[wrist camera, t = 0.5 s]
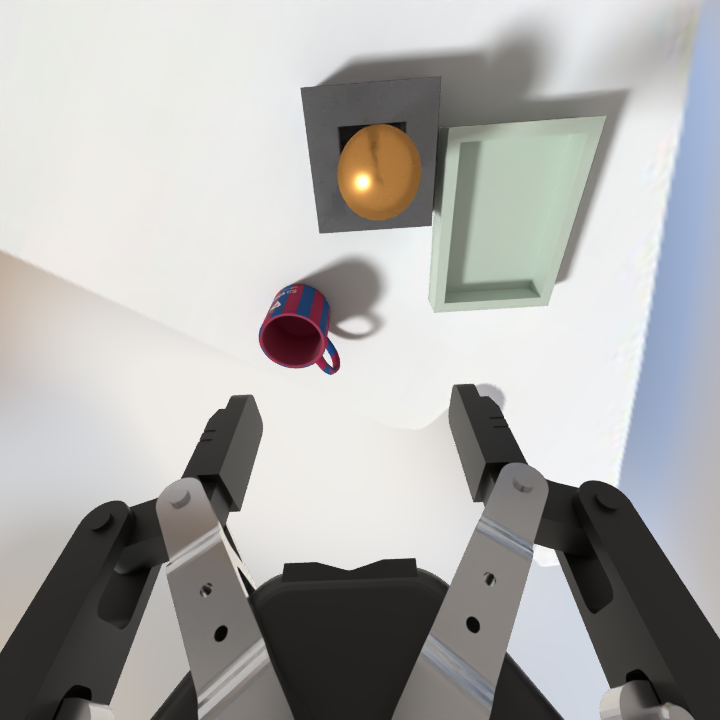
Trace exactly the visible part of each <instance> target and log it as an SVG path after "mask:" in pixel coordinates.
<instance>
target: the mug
mask: <svg viewBox="0 0 720 720" xmlns="http://www.w3.org/2000/svg"><path fill="white" fill-rule="evenodd" d="M329 319H330V307H329V304H328V302H327V300H326V298H325V297H324V296H323V295H322V294H321V293H320V292H319V291H317V290H316V289H314V288H312V287H310V286H306V285H291V286H288V287H286V288H284V289H282V290H281V291H280V292H279V293H278V294H277V295H276V297H275V299H274V301H273V303H272V305H271V307H270V309H269V311H268V313H267V315H266V318H265V320H264V322H263V324H262V326H261V328H260V331H259V343H260V346H261V348H262V350H263V352H264V353H265V354H266V356H267V357H268V358H269V359H271V360H272V361H273V362H275V363H277V364H279V365H281V366H284V367H288V368H304V367H308V366H310V365H313V364H314V363H316V364H317V365H318V366H319V367H320V368H321V369H322V370H323V371H324V372H325V373H327V374H329V375H332V374H334V373H336V372H337V371H338V370H339V368H340V358H339V355H338V352H337V350H336V349H335V347H334V345H333V344H332V342H331V341H330V340H329V338H328V337H327V334H328V327H329ZM325 348H326V349H327V351H328V352H329V354H330V356H331V358H332V362H333V368H332V367H331V366H330V365H329V364H328V363H327V362H326V361H325V359H324V358H323V354H324V352H325Z"/></svg>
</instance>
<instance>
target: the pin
mask: <svg viewBox="0 0 720 720" xmlns="http://www.w3.org/2000/svg"><path fill="white" fill-rule="evenodd" d="M420 180H421V162H420V157H419V154H418V151H417V148H416V147H415V145H414V143H413V142H412V140H411V139H410V138H409V137H408V136H407V135H406V134H405V133H404V132H403V131H401V130H400V129H398V128H396V127H394V126H391V125H386V124H376V125H371V126H368V127H365V128H363V129H361V130H360V131H358V132H357V133H356V134H355V135H353V136H352V137H351V139H350V140H349V141H348V142H347V144H346V146H345V147H344V149H343V151H342V153H341V156H340V159H339V164H338V184H339V188H340V192H341V194H342V197H343V199H344V200H345V202H346V203H347V205H348V206H349V207H350V208H351V209H352V210H353V211H354V212H355V213H356V214H358V215H359V216H361V217H363V218H366V219H369V220H386V219H390V218H392V217H395V216H396V215H398V214H400V213H401V212H402V211H404V210H405V209H406V208H407V207H408V206H409V204H410V203H411V202H412V200H413V199H414V197H415V195H416V193H417V191H418V188H419V184H420Z"/></svg>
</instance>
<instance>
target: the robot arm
mask: <svg viewBox="0 0 720 720" xmlns="http://www.w3.org/2000/svg"><path fill="white" fill-rule="evenodd" d="M449 424H450V428H451V431H452V434H453V437H454V441H455V444H456V447H457V450H458V454H459V457H460V460H461V463H462V467H463V470H464V473H465V476H466V480H467V483H468V486H469V489H470V493H471V496H472V499H473V502H483V503H484V506H485V509H484V511H483V513H482V516H481V518H480V520H479V521H478V523H477V525H476V528H475V530H474V532H473V534H472V537H471V539H470V541H469V544H468V546H467V548H466V551H465V553H464V555H463V557H462V560H461V562H460V564H459V567H458V569H457V571H456V573H455V576H454V578H453V580H452V582H451V585H450V586H449V585H448V584H447V583H446V582H445V581H443V580H442V579H441V578H439V577H438V576H436V575H434V574H432V573H430V572H428V571H426V570H423V569H420V568H417V567H416V559H415V558H410V559H384V560H380V561H377V562H374V563H371V564H369V565H366V566H363V567H360V568H357V569H354V570H344V569H340V568H336V567H332V566H329V565H325V564H321V563H317V562H310V563H285V564H284V569H283V574H280V575H277V576H275V577H273V578H271V579H270V580H268V581H267V582H265V583H264V584H263V585H261V586H260V587H259V588H257V586H256V584H255V582H254V580H253V578H252V577H251V575H250V573H249V571H248V569H247V567H246V565H245V563H244V561H243V558H242V556H241V554H240V552H239V549H238V547H237V545H236V543H235V540H234V538H233V536H232V534H231V531H230V529H229V527H228V525H227V523H226V521H227V518H228V515H229V512H237V511H240V510H241V507H242V503H243V499H244V496H245V493H246V489H247V486H248V482H249V479H250V475H251V472H252V468H253V465H254V461H255V457H256V454H257V451H258V447H259V444H260V440H261V437H262V432H263V423H262V419H261V416H260V413H259V410H258V408H257V405H256V402H255V399H254V397H253V395H234V396H231V398H230V400H229V402H228V404H227V407H226V409H219V410H218V411H217V412H216V413H215V414H214V415H213V416H212V417H211V418H210V419H209V421H208V423H207V425H206V427H205V430H204V433H203V434H202V436H201V438H200V442H198V444H197V446H196V449H195V451H194V453H193V455H192V457H191V459H190V461H189V463H188V465H187V467H186V469H185V471H184V474H183V476H182V477H181V479H180V480H177V481H175V482H173V483H172V484H170V485H169V486H168V487H167V488H166V489H165V490H164V491H163V492H162V493H161V494H160V496H159V497H158V498H156V499H153V500H150V501H147V502H144V503H141V504H138V505H135V506H132V507H128V506H127V505H126V504H125V503H124V502H122V501H110V502H107V503H104V504H102V505H100V506H98V507H97V508H95V509H94V510H92V511H91V512H90V513H89V514H88V515H87V516H86V517H85V518H84V519H83V520H82V521H81V523H80V524H79V526H78V527H77V529H76V530H75V532H74V534H73V535H72V537H71V539H70V540H69V542H68V544H67V545H66V547H65V548H64V550H63V552H62V554H61V555H60V557H59V558H58V560H57V562H56V563H55V565H54V566H53V568H52V570H51V571H50V573H49V575H48V576H47V578H46V580H45V581H44V583H43V584H42V586H41V588H40V589H39V591H38V592H37V594H36V596H35V597H34V599H33V601H32V602H31V604H30V606H29V607H28V609H27V611H26V612H25V614H24V615H23V617H22V619H21V620H20V622H19V623H18V625H17V627H16V629H15V630H14V632H13V633H12V635H11V636H10V638H9V640H8V641H7V643H6V645H5V646H4V648H3V649H2V651H1V653H0V720H115V715H114V712H113V710H112V709H111V708H110V707H109V704H110V702H111V699H112V696H113V694H114V691H115V688H116V686H117V683H118V680H119V678H120V675H121V672H122V669H123V667H124V664H125V662H126V659H127V656H128V654H129V651H130V648H131V646H132V643H133V640H134V638H135V635H136V632H137V629H138V627H139V624H140V622H141V619H142V616H143V613H144V611H145V608H146V606H147V603H148V600H149V598H150V595H151V592H152V590H153V587H154V584H155V581H156V579H157V576H158V573H159V571H160V568H161V565H162V563H165V562H168V561H170V564H168V565H167V566H166V575H167V579H168V583H169V587H170V591H171V595H172V599H173V603H174V607H175V611H176V615H177V618H178V622H179V626H180V630H181V634H182V638H183V642H184V646H185V650H186V654H187V658H188V662H189V665H190V671H189V672H188V673H187V674H186V676H185V677H184V678H183V679H182V681H181V682H180V683H179V684H178V686H177V687H176V688H175V689H174V691H173V692H172V693H171V695H170V696H169V697H168V698H167V699H166V701H165V702H164V703H163V705H162V706H161V707H160V708H159V709H158V711H157V712H156V713H155V714H154V716H153V717H152V718H151V719H150V720H564V719H563V718H562V716H561V715H560V714H559V713H558V712H557V711H556V709H555V708H554V707H553V706H552V705H551V703H550V702H549V701H548V700H547V699H546V698H545V696H544V695H543V694H542V693H541V692H540V690H539V689H538V688H537V687H536V686H535V685H534V683H533V682H532V681H531V680H530V679H529V677H528V676H527V675H526V674H525V673H524V672H523V670H521V668H520V667H519V666H518V664H517V663H516V662H515V661H514V660H513V659H512V657H511V656H510V655H509V654H508V653H507V652H506V649H507V646H508V642H509V639H510V635H511V632H512V629H513V625H514V621H515V618H516V615H517V611H518V607H519V604H520V601H521V597H522V594H523V590H524V587H525V583H526V580H527V576H528V573H529V569H530V566H531V562H532V558H533V550H532V547H533V543H534V544H538V545H541V546H544V547H548V548H551V549H554V550H555V552H556V555H557V557H558V560H559V562H560V565H561V567H562V569H563V572H564V574H565V577H566V579H567V582H568V584H569V587H570V589H571V592H572V594H573V596H574V599H575V602H576V604H577V607H578V609H579V612H580V614H581V616H582V619H583V622H584V624H585V626H586V629H587V631H588V634H589V636H590V639H591V641H592V644H593V646H594V649H595V651H596V654H597V656H598V659H599V661H600V663H601V666H602V669H603V671H604V673H605V676H606V678H607V681H608V683H609V686H610V688H611V689H610V690H608V691H607V692H605V694H604V695H603V696H602V699H601V702H600V717H601V720H720V639H719V637H718V636H717V634H716V633H715V631H714V630H713V628H712V626H711V625H710V623H709V622H708V620H707V619H706V617H705V616H704V614H703V613H702V611H701V610H700V608H699V606H698V605H697V604H696V602H695V600H694V599H693V597H692V596H691V594H690V593H689V591H688V589H687V588H686V586H685V585H684V584H683V582H682V580H681V579H680V577H679V576H678V574H677V573H676V571H675V569H674V568H673V566H672V565H671V564H670V562H669V560H668V559H667V557H666V556H665V554H664V553H663V551H662V549H661V548H660V546H659V545H658V543H657V542H656V540H655V539H654V537H653V536H652V534H651V533H650V531H649V529H648V528H647V527H646V525H645V523H644V522H643V520H642V519H641V517H640V516H639V514H638V512H637V511H636V509H635V508H634V506H633V505H632V503H631V502H630V500H629V499H628V498H627V497H626V496H625V495H624V494H623V493H622V492H621V491H620V490H618V489H617V488H615V487H613V486H612V485H609V484H607V483H604V482H601V481H594V480H593V481H586V482H584V483H583V484H582V485H581V486H580V487H579V488H577V487H573V486H568V485H564V484H560V483H556V482H553V481H550V480H547V479H545V478H544V477H543V475H542V474H541V473H540V472H539V471H537V470H536V469H535V468H533V467H531V466H529V465H528V463H527V462H526V460H525V458H524V456H523V454H522V452H521V450H520V448H519V446H518V444H517V442H516V440H515V438H514V436H513V434H512V432H511V430H510V428H509V427H508V424H507V422H506V420H505V419H504V416H503V414H502V412H501V410H500V408H499V406H498V405H497V404H496V403H495V402H494V401H493V400H492V399H491V398H490V397H488V396H484V397H480V396H479V393H478V391H477V389H476V387H475V385H474V384H459V385H454V386H453V389H452V394H451V401H450V407H449Z"/></svg>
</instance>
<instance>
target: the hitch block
mask: <svg viewBox="0 0 720 720" xmlns="http://www.w3.org/2000/svg"><path fill="white" fill-rule="evenodd" d="M440 87H441V76H440V77H427V78H415V79H403V80H390V81H378V82H366V83H353V84H341V85H329V86H316V87H304V88H301V95H302V103H303V111H304V118H305V126H306V134H307V141H308V149H309V156H310V164H311V172H312V179H313V187H314V195H315V202H316V210H317V217H318V225H319V233H334V232H349V231H363V230H378V229H392V228H407V227H421V226H432V210H433V195H434V180H435V164H436V149H437V133H438V118H439V103H440ZM399 122H400V130H401V131H403V132H404V133H405V134H406V135H407V136H408V137H409V138H410V139H411V140H412V142H413V143H414V145H415V147H416V148H417V151H418V154H419V157H420V162H421V180H420V184H419V188H418V191H417V193H416V195H415V197H414V199H413V200H412V202H411V203H410V204H409V206H408V207H407V208H406V209H405V210H404V211H402V212H401V213H400V214H398V215H396V216H395V217H392V218H390V219H386V220H369V219H366V218H363V217H361V216H359V215H358V214H356V213H355V212H354V211H353V210H352V209H351V208H350V207H349V206H348V205H347V203H346V202H345V200H344V199H343V197H342V194H341V192H340V188H339V184H338V164H339V159H340V156H341V153H342V151H341V139H340V127H347V126H360V125H373V124H386V123H399Z"/></svg>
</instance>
